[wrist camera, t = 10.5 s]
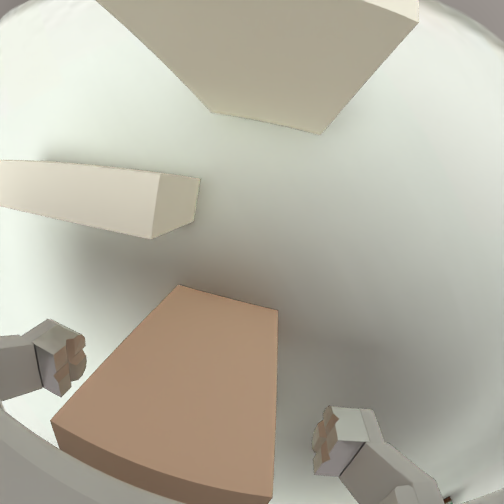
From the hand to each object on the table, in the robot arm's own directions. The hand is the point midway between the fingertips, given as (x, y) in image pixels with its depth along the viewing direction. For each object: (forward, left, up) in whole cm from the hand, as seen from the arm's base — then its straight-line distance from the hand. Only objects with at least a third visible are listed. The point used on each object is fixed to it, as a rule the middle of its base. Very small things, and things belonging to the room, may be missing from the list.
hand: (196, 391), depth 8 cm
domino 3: (0, 0, -6) cm, 6 cm away
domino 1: (-2, -10, -6) cm, 12 cm away
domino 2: (+2, -5, -4) cm, 7 cm away
